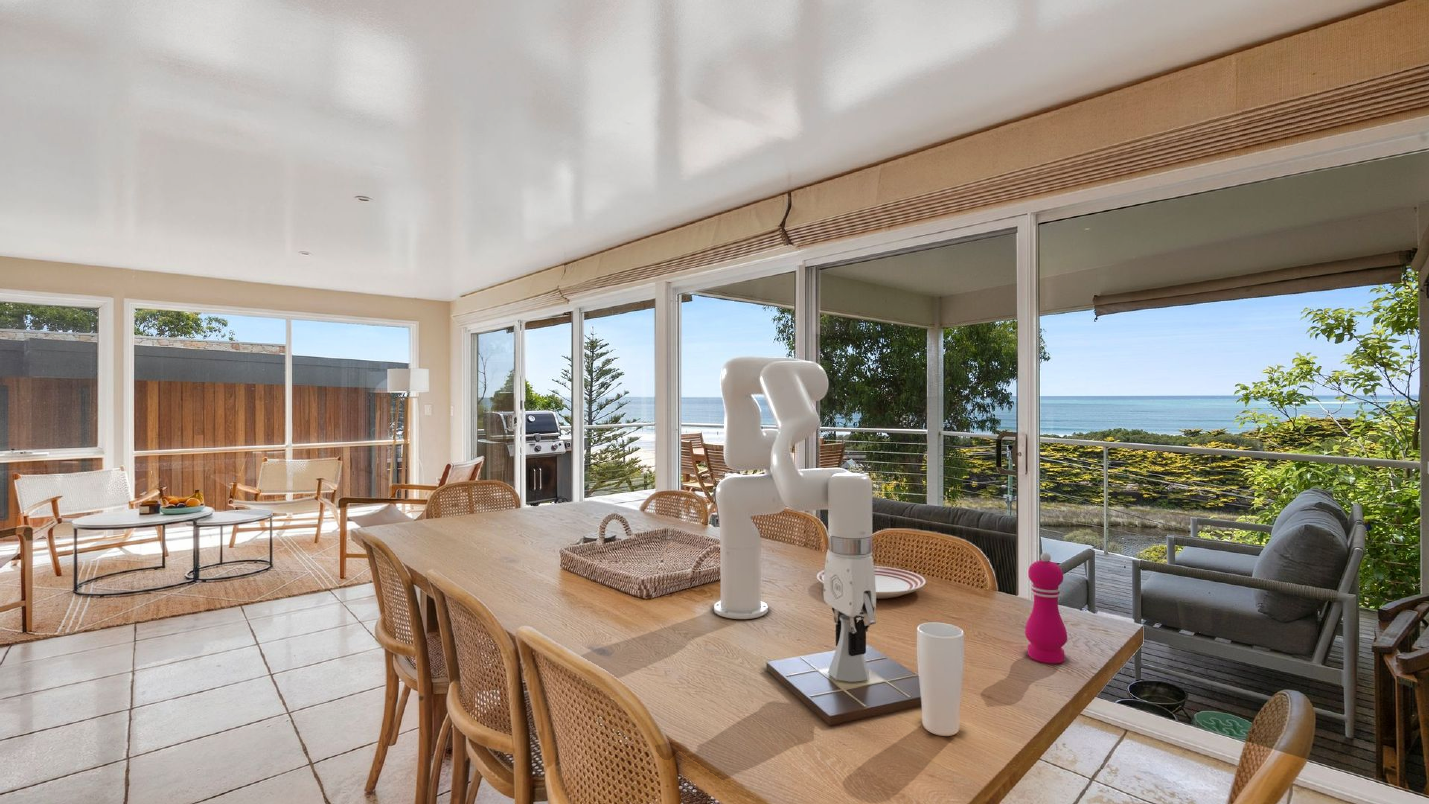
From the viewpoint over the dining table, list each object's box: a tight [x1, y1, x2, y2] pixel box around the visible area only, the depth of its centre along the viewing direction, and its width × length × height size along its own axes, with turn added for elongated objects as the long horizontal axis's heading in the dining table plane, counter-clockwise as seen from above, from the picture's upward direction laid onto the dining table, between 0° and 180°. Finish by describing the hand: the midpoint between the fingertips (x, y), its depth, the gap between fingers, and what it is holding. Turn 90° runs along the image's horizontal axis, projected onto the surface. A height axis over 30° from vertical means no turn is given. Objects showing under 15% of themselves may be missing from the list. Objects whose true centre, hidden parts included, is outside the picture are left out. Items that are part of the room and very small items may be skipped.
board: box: [765, 644, 922, 727], centre depth 114 cm, size 22×22×2 cm
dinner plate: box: [816, 565, 927, 599], centre depth 170 cm, size 27×27×3 cm
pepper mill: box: [1024, 552, 1068, 664], centre depth 125 cm, size 7×7×20 cm
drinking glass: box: [916, 621, 965, 737], centre depth 98 cm, size 7×7×15 cm
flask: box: [828, 615, 870, 682], centre depth 114 cm, size 7×7×10 cm
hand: (850, 649), depth 114 cm, fingers closed on flask, 3 cm apart
